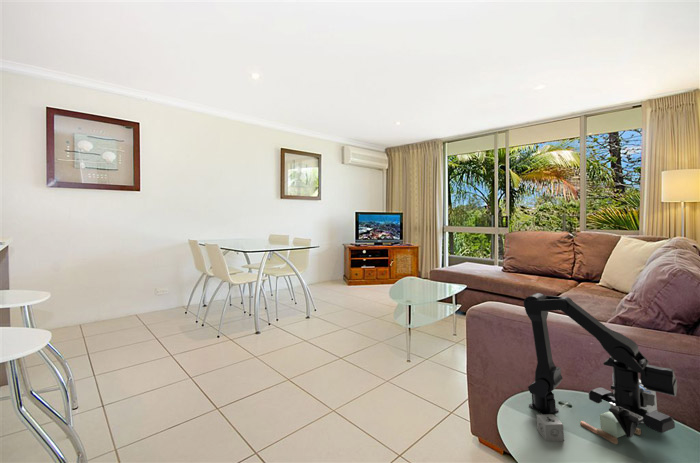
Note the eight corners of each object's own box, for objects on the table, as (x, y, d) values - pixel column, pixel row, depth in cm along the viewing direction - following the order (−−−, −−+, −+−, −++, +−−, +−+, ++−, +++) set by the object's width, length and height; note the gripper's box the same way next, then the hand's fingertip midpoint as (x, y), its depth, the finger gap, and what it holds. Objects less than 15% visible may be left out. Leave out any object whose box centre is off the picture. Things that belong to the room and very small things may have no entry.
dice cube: (546, 441, 94) (545, 424, 94) (537, 430, 99) (536, 414, 99) (564, 441, 94) (562, 424, 94) (554, 430, 99) (553, 414, 99)
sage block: (600, 429, 97) (599, 414, 97) (610, 425, 99) (609, 411, 99) (617, 437, 93) (615, 422, 93) (627, 433, 95) (626, 418, 95)
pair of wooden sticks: (580, 424, 100) (580, 420, 100) (604, 416, 104) (604, 411, 104) (615, 444, 91) (615, 439, 91) (640, 434, 94) (640, 429, 94)
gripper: (685, 392, 85) (689, 449, 85) (610, 365, 103) (613, 413, 103) (658, 401, 82) (663, 461, 82) (585, 372, 100) (589, 421, 100)
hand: (629, 436), depth 92 cm, fingers closed
